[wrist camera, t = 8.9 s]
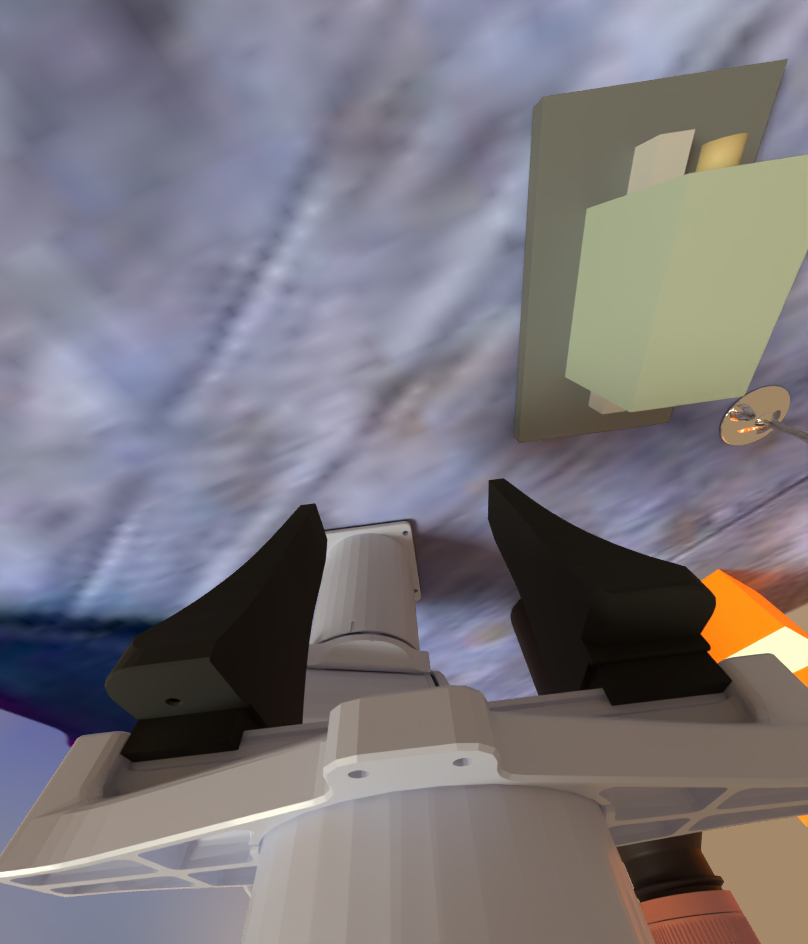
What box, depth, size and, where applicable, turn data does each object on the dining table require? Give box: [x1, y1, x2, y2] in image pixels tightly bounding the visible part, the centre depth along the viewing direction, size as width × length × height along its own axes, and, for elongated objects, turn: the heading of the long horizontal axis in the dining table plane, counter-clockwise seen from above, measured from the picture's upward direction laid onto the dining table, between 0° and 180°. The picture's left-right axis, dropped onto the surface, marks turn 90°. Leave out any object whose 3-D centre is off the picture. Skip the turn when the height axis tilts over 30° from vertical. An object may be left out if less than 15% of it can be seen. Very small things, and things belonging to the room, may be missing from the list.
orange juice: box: [701, 569, 808, 827], centre depth 25 cm, size 8×9×20 cm
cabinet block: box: [565, 133, 808, 412], centre depth 14 cm, size 9×5×6 cm, turn 7°
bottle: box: [511, 599, 760, 944], centre depth 24 cm, size 7×7×20 cm
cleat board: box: [514, 59, 788, 443], centre depth 17 cm, size 16×10×2 cm, turn 7°
